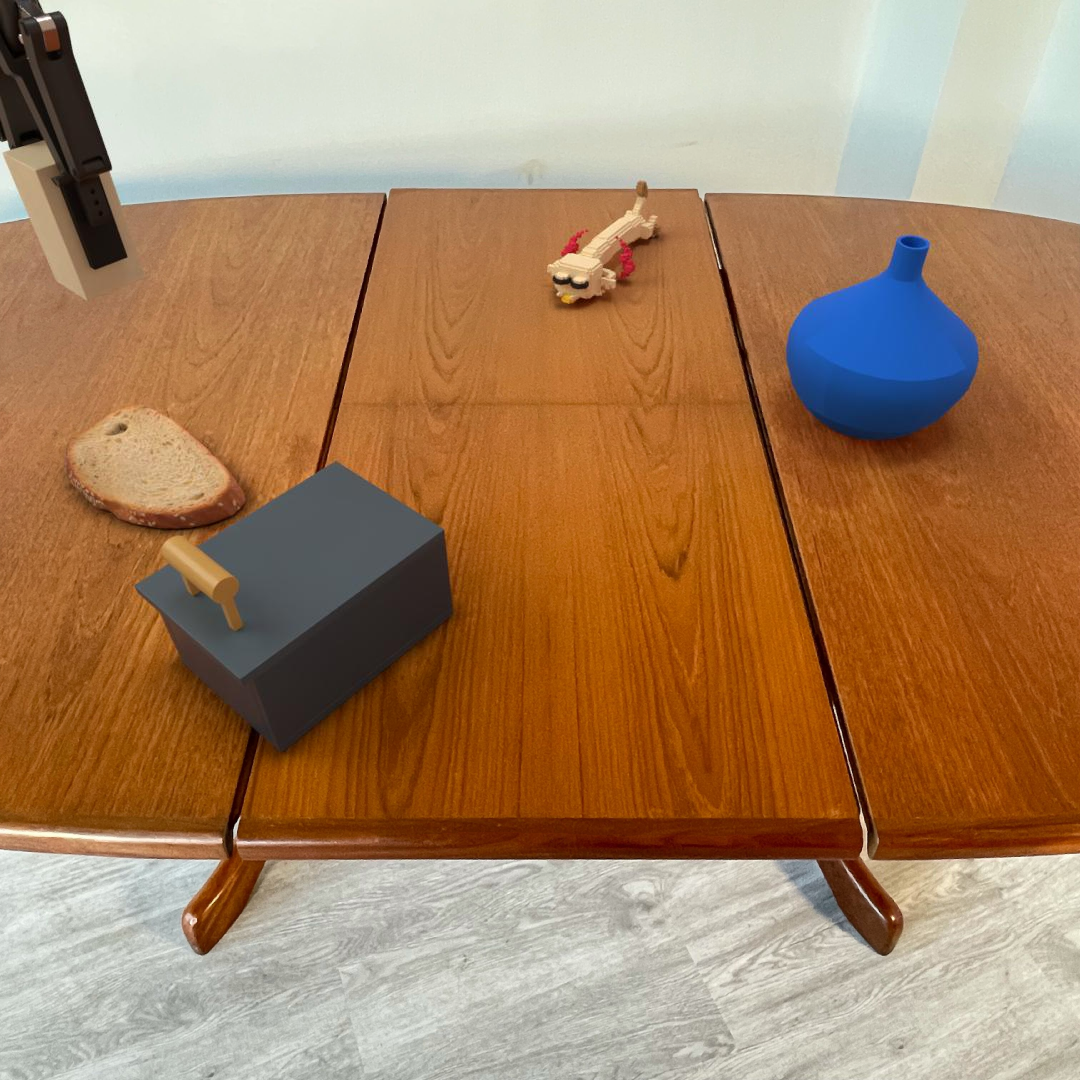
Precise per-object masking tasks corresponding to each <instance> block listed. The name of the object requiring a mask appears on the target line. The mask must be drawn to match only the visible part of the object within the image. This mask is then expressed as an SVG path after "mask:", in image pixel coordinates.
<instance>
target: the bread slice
mask: <svg viewBox="0 0 1080 1080" xmlns="http://www.w3.org/2000/svg"><path fill="white" fill-rule="evenodd" d="M64 455H65V456H64V468H65V471H66V474H67V476H68V478H69V480H70V483H71V484H72V485H73V486H74V487H75V489H76V490H77V491H78V492H79V494H80V495H82V496H83V497H84V498H85V499H86V500H87V501H89V502H90V503H91V504H92V505H93V507H95V508H96V509H98V510H102V511H107V512H110V513H112V514H114V516H115V517H116V518H117V519H119V520H121V521H125V522H128V523H131V524H133V525H139V526H146V527H150V528H157V529H164V530H165V529H175V530H177V529H179V530H180V529H192V528H195V527H200V526H201V527H202V526H207V525H210V524H213V523H216V522H219V521H222V520H224V519H227V518H229V517H233V516H234V515H235V514H236V513H237V512H239V511H240V510H241V508H242V507H243V506H244V504H245V503H246V496H245V493H244V490H243V489H242V487H241V486H240V485H239V484H238V482H237V481H236V479H235V477H234V475H233V474H232V473H231V472H230V470H229V469H228V468H227V467H226V465H225V464H224V462H223V461H222V460H220V459H219V458H218V457H217V456H216V455H215V454H214V453H213V452H212V451H211V450H210V449H209V448H207V447H206V446H205V445H204V443H202V442H201V441H200V440H199V439H198V438H197V437H196V436H194V435H193V433H191V431H188V430H187V429H186V428H184V427H183V425H181V424H179V423H178V422H177V421H175V420H174V419H173V418H171V417H169V416H167V415H166V414H165V415H164V414H163V413H161V412H160V411H159V410H157V409H154V408H151V407H149V406H147V405H144V404H131V405H128V406H123V407H121V408H119V409H118V410H116V411H113V412H111V413H108V414H107V415H105V416H104V417H102V418H101V419H100V420H98V421H97V422H96V423H94V424H93V425H92V426H90V427H88V428H87V429H85V430H83V431H82V432H80V433H78V434H76V435H74V436H72V437H71V438H70V439H69V441H68V442H67V445H66V449H65V454H64Z"/></svg>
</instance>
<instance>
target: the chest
mask: <svg viewBox="0 0 1080 1080" xmlns="http://www.w3.org/2000/svg"><path fill="white" fill-rule="evenodd" d="M453 607H454V606H453V597H452V587H451V579H450V571H449V559H448V551H447V542H446V536H445V537H444V538H443V539H442V540H440V541H439V542H438V543H436V544H435V545H434V546H432V547H431V548H430V549H428V550H427V551H425V552H424V553H423V554H421V555H420V556H419V557H417V558H416V559H415V560H413V561H412V562H411V563H409V564H408V565H407V566H405V567H404V568H403V569H401V570H400V571H398V572H397V573H396V574H394V575H393V576H392V577H390V578H389V579H388V580H386V581H385V582H384V583H382V584H381V585H380V586H378V587H377V588H376V589H374V590H373V591H371V592H370V593H369V594H367V595H366V596H365V597H363V598H362V599H361V600H359V601H358V602H357V603H355V604H354V605H353V606H351V607H350V608H349V609H347V610H346V611H344V612H343V613H342V614H340V615H339V616H338V617H336V618H335V619H334V620H332V621H331V622H330V623H328V624H327V625H326V626H324V627H323V628H322V629H320V630H319V631H317V632H316V633H315V634H313V635H312V636H311V637H309V638H308V639H307V640H305V641H304V642H303V643H301V644H300V645H299V646H297V647H296V648H295V649H293V650H292V651H290V652H289V653H288V654H286V655H285V656H284V657H282V658H281V659H280V660H278V661H277V662H276V663H274V664H273V665H272V666H270V667H269V668H268V669H266V670H265V671H263V672H262V673H261V674H259V675H258V676H257V677H255V678H254V679H253V680H251V681H250V682H249V683H247V684H246V685H245V686H242V685H241V684H240V683H238V682H237V681H236V680H235V679H234V678H233V677H232V676H231V675H229V674H228V673H227V672H226V671H225V670H224V669H223V668H222V667H220V666H219V665H218V664H217V663H216V662H215V661H214V660H213V659H211V658H210V657H209V656H208V655H207V654H206V653H205V652H204V651H202V650H201V649H200V648H199V647H198V646H197V645H196V644H195V643H193V642H192V641H191V640H190V639H189V638H188V637H187V636H186V635H184V634H183V633H182V632H181V631H180V630H179V629H178V628H177V627H175V626H174V625H173V624H172V623H171V622H170V621H169V620H168V619H166V618H165V617H164V616H163V615H162V614H161V613H160V612H159V615H160V617H161V619H162V621H163V623H164V625H165V627H166V630H167V632H168V634H169V636H170V639H171V641H172V643H173V645H174V647H175V650H176V651H177V654H178V656H179V658H180V660H181V662H182V664H183V665H184V666H185V667H187V669H189V671H191V672H192V673H193V674H194V675H195V676H196V677H197V678H198V679H199V680H201V681H202V682H203V683H204V684H205V685H206V686H207V687H208V688H209V689H210V690H211V691H212V692H213V693H215V694H216V696H218V697H219V698H220V699H221V700H222V701H224V702H225V704H227V705H228V706H229V707H230V708H231V710H234V712H235V713H237V714H238V715H239V716H240V717H241V718H242V719H243V720H244V721H245V723H246V722H247V724H248V725H250V726H251V727H252V728H253V729H254V730H255V731H256V732H257V733H259V735H260V736H262V737H263V739H265V740H266V741H267V742H268V743H269V744H271V746H272V747H274V748H275V749H276V751H278V752H279V753H280V754H283V753H284V752H286V751H287V749H289V748H290V747H291V746H293V744H295V743H296V742H297V741H299V740H300V739H301V738H302V737H303V736H305V735H306V734H307V733H309V732H310V731H311V730H312V729H313V728H315V727H316V726H317V725H318V724H319V723H320V722H322V721H323V720H325V719H326V718H327V717H328V716H329V715H331V714H333V712H335V711H336V710H337V709H339V708H340V707H341V705H343V704H345V702H347V701H348V700H349V699H350V698H352V697H353V696H354V695H355V694H357V693H358V692H359V691H361V689H363V688H364V687H365V686H367V685H368V684H369V683H370V682H372V680H374V679H375V678H377V677H378V676H379V675H380V674H381V673H382V672H384V671H385V670H386V669H387V668H389V667H390V666H391V665H393V664H394V663H395V662H396V661H398V659H400V658H401V657H402V656H403V655H405V654H406V653H407V652H409V650H411V649H412V648H413V647H415V646H416V645H417V644H418V643H419V642H421V641H422V640H423V639H425V638H426V637H427V636H428V635H430V634H431V633H432V632H433V631H434V630H436V629H437V628H438V627H439V626H441V625H442V624H443V623H444V622H446V621H447V620H448V619H449V618H451V617H452V616H453V615H454V608H453Z"/></svg>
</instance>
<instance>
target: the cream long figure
mask: <svg viewBox="0 0 1080 1080" xmlns="http://www.w3.org/2000/svg"><path fill="white" fill-rule="evenodd" d="M648 188H649V186H648V183H647V181H644V180H638V181H637V183H636V185H635V193H636V195H638V196H637V198H636V200H635V203H634V206H633V208H632V210H629V209H628V210H627V211H626V212H625V214H624V215H623V217H620V218H618V219H617V220H615V222H613V223H612V224H610V225H609V226H608V227H606V228H605V229H604V230H602V231H601V232H599V234H597V235H596V236H594V238H592V239H591V242H589V243H588V244H587V245H585V247H582V249H581V252H580V253H578V254H577V252H578V251H580V243H578V239H582V237H583V234H585V233H589V229H588V228H586V229H585V230H581V231H576V234H575V235H571V236H570V237H569V240H568V243H567V244H566V245H565V246H564V247H563V248H564V249H562V250H561V252H560V256H561V258H560V259H557V260H556V261H554V262H552V263H549V264H548V265H547V269H546V271H547V273H549V274H550V276H551V277H552V282H553V283H554V284H553V285H554V286H553V287H555V289H556V290H557V291H558V292H557V293H556V297H559V298H561V301H562V303H565V304H568V305H569V304H574V303H575V302H576V301H577V300H578V299H580V298H581V299H585V300H588V299H591V298H592V297H593V296H595V297H599V296H600V297H601V296H603V294H605V293H606V290H608V291H610V290H612V289H615V288H616V287H617V282H618V281H619V280H621V281H622V280H624V279H625V278H626V277H627V278H628V277H630V276H631V274H632V273H634V272H635V270H636V263H635V261H634V260H632V259H633V250H631V248H630V247H627V246H628V245H630V244H631V243H634V242H635V241H637V240H638V239H643V240H648V239H649V238H655V237H656V236H657V235H659V234H660V233H661V229H662V225H659V224H658V221H659V216H658V215H650V216H649V219H648V220H647V221H646V219H645V217H643V214H641V213H642V211H643V207H644V206H645V203H646V201H647V198H648V195H649V190H648ZM621 249H623V252H624V253H620V254H619V256H618V262H619V263H620V264H622V268H621V269H622V270H623V271H620V275H619V277H617V273H616V271H614V270H613V271H612V269H608V268H604V265H605V264H607V263H608V262H609V261H610V260H612V258H613V256H614V255H615V254H616V253H617V252H618V251H621ZM602 287H604V289H602Z"/></svg>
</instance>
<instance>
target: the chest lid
mask: <svg viewBox="0 0 1080 1080" xmlns="http://www.w3.org/2000/svg"><path fill="white" fill-rule="evenodd" d="M444 537H445V538H446V533H445V528H443V527H442V526H440V525H439V524H436V523H435V522H434V521H432V520H431V519H429V518H427V517H425V516H424V515H422V513H419V512H418V511H416V510H415V509H413V508H412V507H410V506H408V505H407V504H405V503H403V502H402V501H400V500H399V499H397V498H396V497H394V496H392V495H391V494H390V493H388V492H386V491H384V490H383V489H382V488H381V487H378V486H376V485H375V484H373V483H372V482H370V481H368V479H366V478H364V477H362V476H361V475H359V474H358V473H356V472H354V471H353V470H352V469H349V468H348V467H346V466H345V465H344V464H342V463H340V462H339V461H337V460H334V461H333V462H331V463H329V464H328V465H327V466H325V467H324V468H322V469H319V471H317V472H315V473H314V474H312V475H311V476H309V477H307V478H305V479H304V480H302V481H301V482H299V483H298V484H296V485H294V486H293V487H290V489H288V490H286V491H284V492H283V493H281V494H280V495H278V496H276V497H275V498H273V499H271V500H270V501H268V502H266V503H265V504H264V505H261V506H260V507H258V508H257V509H255V510H254V511H251V513H248V514H247V515H246V516H244V517H243V518H240V519H239V520H238V521H236V522H234V523H233V524H230V525H229V526H227V527H226V528H224V529H223V530H221V531H219V532H218V533H216V534H214V535H213V536H211V537H210V538H208V539H207V540H205V541H203V542H201V543H199V544H198V545H197V546H196V544H194V543H192V542H191V541H190V540H189V539H188V538H186V537H185V536H184V535H174V536H171V537H170V538H168V539H167V540H166V541H165V542H164V543H163V545H161V546H162V547H161V549H160V556H161V558H162V559H163V560H164V561H165V562H167V564H166V565H165V566H164V565H163V567H161V568H159V569H158V570H156V571H154V572H153V573H152V574H150V575H148V576H147V577H145V578H143V579H141V580H140V581H139V582H137V583H136V584H134V585H133V586H134V588H135V590H136V592H137V594H138V595H139V596H141V598H143V599H144V600H145V601H146V602H147V603H148V604H149V605H151V607H153V608H154V609H155V610H156V611H157V612H159V614H160V613H161V614H162V615H163V616H164V617H165V618H166V619H168V620H169V621H170V622H171V623H172V624H173V625H174V626H175V627H177V628H178V629H179V630H180V631H181V632H182V633H183V634H184V635H186V636H187V637H188V638H189V639H190V640H191V641H192V642H193V643H195V644H196V645H197V646H198V647H199V648H200V649H201V650H202V651H204V652H205V653H206V654H207V655H208V656H209V657H210V658H211V659H213V660H214V661H215V662H216V663H217V664H218V665H219V666H220V667H222V668H223V669H224V670H225V671H226V672H227V673H228V674H229V675H231V676H232V677H233V678H234V679H235V680H236V681H237V682H238V683H240V684H241V685H242V686H245V685H246V684H247V683H249V682H250V681H251V680H253V679H254V678H255V677H257V676H258V675H259V674H261V673H262V672H263V671H265V670H266V669H268V668H269V667H270V666H272V665H273V664H274V663H276V662H277V661H278V660H280V659H281V658H282V657H284V656H285V655H286V654H288V653H289V652H290V651H292V650H293V649H295V648H296V647H297V646H299V645H300V644H301V643H303V642H304V641H305V640H307V639H308V638H309V637H311V636H312V635H313V634H315V633H316V632H317V631H319V630H320V629H322V628H323V627H324V626H326V625H327V624H328V623H330V622H331V621H332V620H334V619H335V618H336V617H338V616H339V615H340V614H342V613H343V612H344V611H346V610H347V609H349V608H350V607H351V606H353V605H354V604H355V603H357V602H358V601H359V600H361V599H362V598H363V597H365V596H366V595H367V594H369V593H370V592H371V591H373V590H374V589H376V588H377V587H378V586H380V585H381V584H382V583H384V582H385V581H386V580H388V579H389V578H390V577H392V576H393V575H394V574H396V573H397V572H398V571H400V570H401V569H403V568H404V567H405V566H407V565H408V564H409V563H411V562H412V561H413V560H415V559H416V558H417V557H419V556H420V555H421V554H423V553H424V552H425V551H427V550H428V549H430V548H431V547H432V546H434V545H435V544H436V543H438V542H439V541H440V540H442V539H443V538H444Z"/></svg>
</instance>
